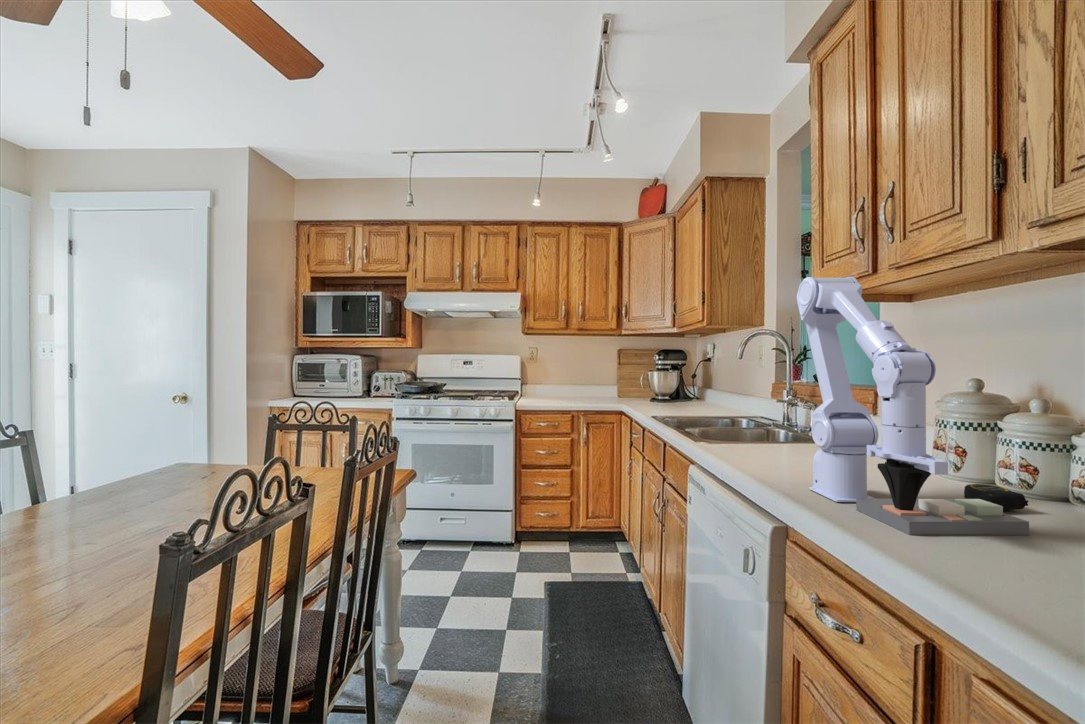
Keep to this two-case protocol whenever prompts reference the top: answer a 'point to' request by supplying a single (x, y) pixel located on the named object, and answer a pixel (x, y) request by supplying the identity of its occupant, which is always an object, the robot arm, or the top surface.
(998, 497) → the tape measure
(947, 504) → the cream key
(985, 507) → the sage key
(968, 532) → the keypad
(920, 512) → the terracotta key
